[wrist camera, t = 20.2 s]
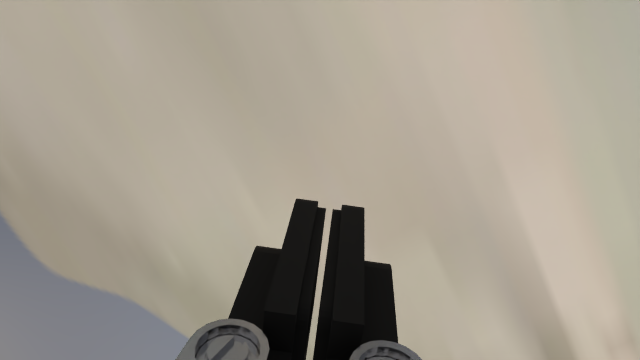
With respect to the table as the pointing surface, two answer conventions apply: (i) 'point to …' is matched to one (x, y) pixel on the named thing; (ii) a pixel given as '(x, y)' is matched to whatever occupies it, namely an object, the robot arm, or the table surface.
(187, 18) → the table surface
